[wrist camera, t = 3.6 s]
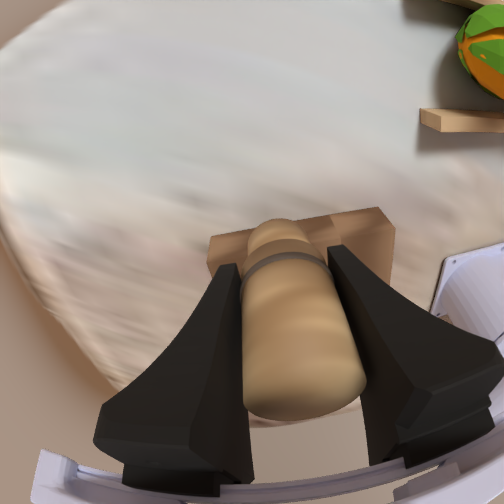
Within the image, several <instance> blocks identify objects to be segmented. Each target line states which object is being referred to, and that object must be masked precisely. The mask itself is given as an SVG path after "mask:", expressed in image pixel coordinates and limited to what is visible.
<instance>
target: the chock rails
mask: <svg viewBox="0 0 504 504" xmlns="http://www.w3.org/2000/svg"><path fill="white" fill-rule="evenodd" d="M439 1H443V2H447V3H451V4H455V5H459V6H462V7H466V8H469V9H472V10H475V11H477V10H479V9H480V8H482V7H484V6H485V5H490V4H502V5H504V1H501V0H439ZM420 117H421V123H422V124H424V125H427V126H429V127H431V128H433V129H435V130H438V131H440V132H497V133H504V113H500V112H490V111H478V110H461V109H420Z"/></svg>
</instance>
